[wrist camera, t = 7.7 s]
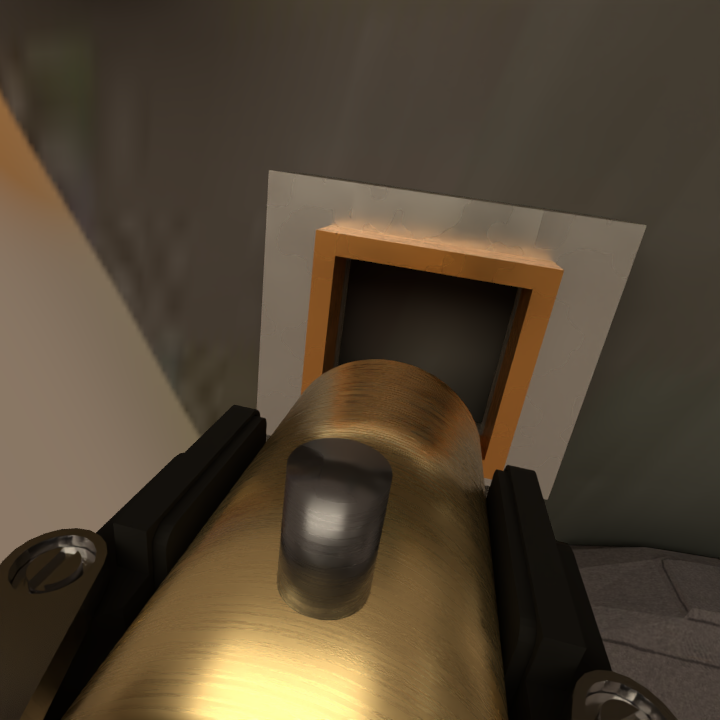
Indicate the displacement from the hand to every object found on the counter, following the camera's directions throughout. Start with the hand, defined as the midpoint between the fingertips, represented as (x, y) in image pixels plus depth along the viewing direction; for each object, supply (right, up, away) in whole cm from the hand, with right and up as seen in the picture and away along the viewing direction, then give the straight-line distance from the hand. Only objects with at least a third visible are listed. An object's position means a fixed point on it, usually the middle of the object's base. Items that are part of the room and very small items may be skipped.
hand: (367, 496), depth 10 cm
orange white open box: (+3, +5, +13) cm, 14 cm away
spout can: (0, +1, +2) cm, 2 cm away
